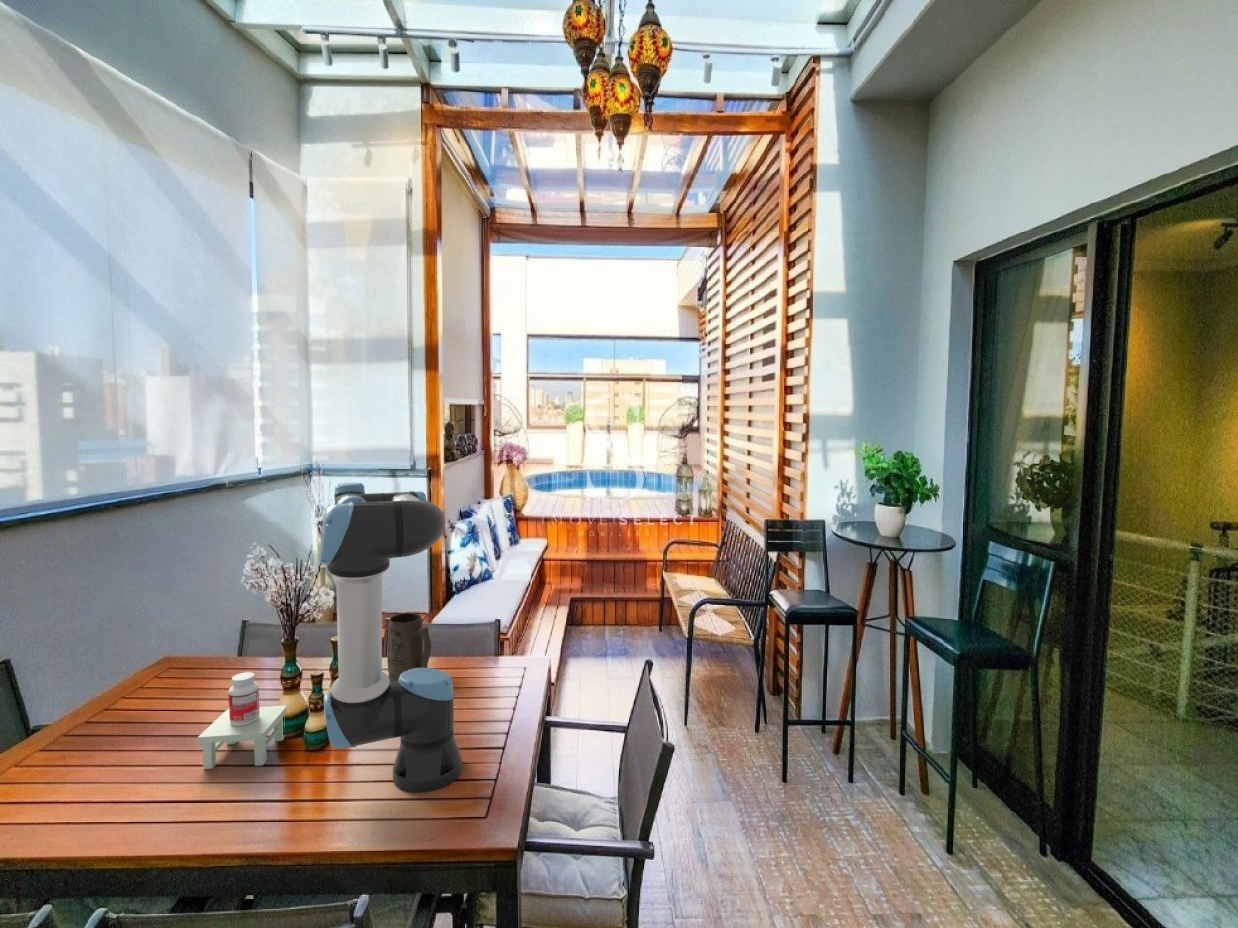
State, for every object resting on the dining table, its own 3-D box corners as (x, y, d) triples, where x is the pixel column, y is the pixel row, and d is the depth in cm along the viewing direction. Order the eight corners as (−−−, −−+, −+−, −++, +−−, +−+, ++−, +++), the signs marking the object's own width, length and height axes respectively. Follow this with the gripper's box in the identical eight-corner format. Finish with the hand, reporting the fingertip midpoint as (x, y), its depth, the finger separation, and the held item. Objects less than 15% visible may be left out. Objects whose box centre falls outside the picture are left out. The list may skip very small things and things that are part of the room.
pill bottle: (238, 714, 150) (236, 671, 149) (264, 713, 151) (262, 670, 150) (224, 727, 144) (222, 681, 143) (251, 726, 144) (250, 680, 144)
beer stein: (378, 683, 187) (380, 619, 186) (400, 669, 198) (402, 609, 196) (421, 693, 183) (424, 628, 181) (441, 678, 193) (444, 617, 191)
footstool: (264, 766, 142) (263, 732, 141) (199, 770, 140) (197, 737, 139) (288, 735, 156) (287, 705, 155) (228, 739, 154) (227, 708, 153)
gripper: (352, 548, 155) (354, 629, 157) (376, 531, 180) (377, 601, 181) (321, 548, 154) (323, 631, 156) (349, 531, 179) (351, 602, 180)
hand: (352, 615), depth 169 cm, fingers open, 13 cm apart
